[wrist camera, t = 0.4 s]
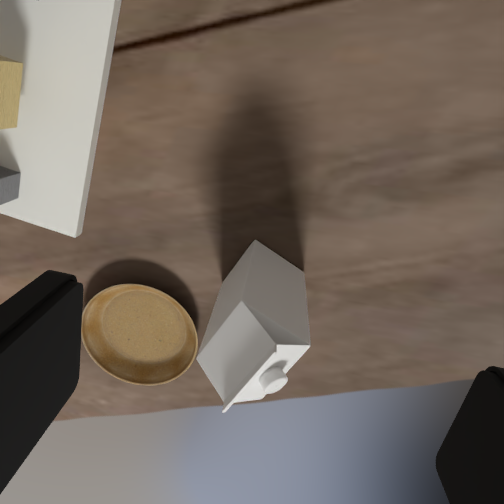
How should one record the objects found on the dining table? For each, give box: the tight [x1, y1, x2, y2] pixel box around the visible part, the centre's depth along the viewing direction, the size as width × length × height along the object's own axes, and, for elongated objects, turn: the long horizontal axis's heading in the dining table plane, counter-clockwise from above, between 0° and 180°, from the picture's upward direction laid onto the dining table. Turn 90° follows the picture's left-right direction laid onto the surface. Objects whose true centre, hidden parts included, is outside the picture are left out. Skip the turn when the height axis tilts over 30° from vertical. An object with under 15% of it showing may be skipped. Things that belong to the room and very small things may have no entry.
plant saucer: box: [81, 284, 198, 386], centre depth 51 cm, size 15×15×3 cm
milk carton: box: [196, 240, 311, 412], centre depth 40 cm, size 7×7×19 cm
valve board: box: [0, 0, 122, 238], centre depth 42 cm, size 28×18×2 cm, turn 162°
